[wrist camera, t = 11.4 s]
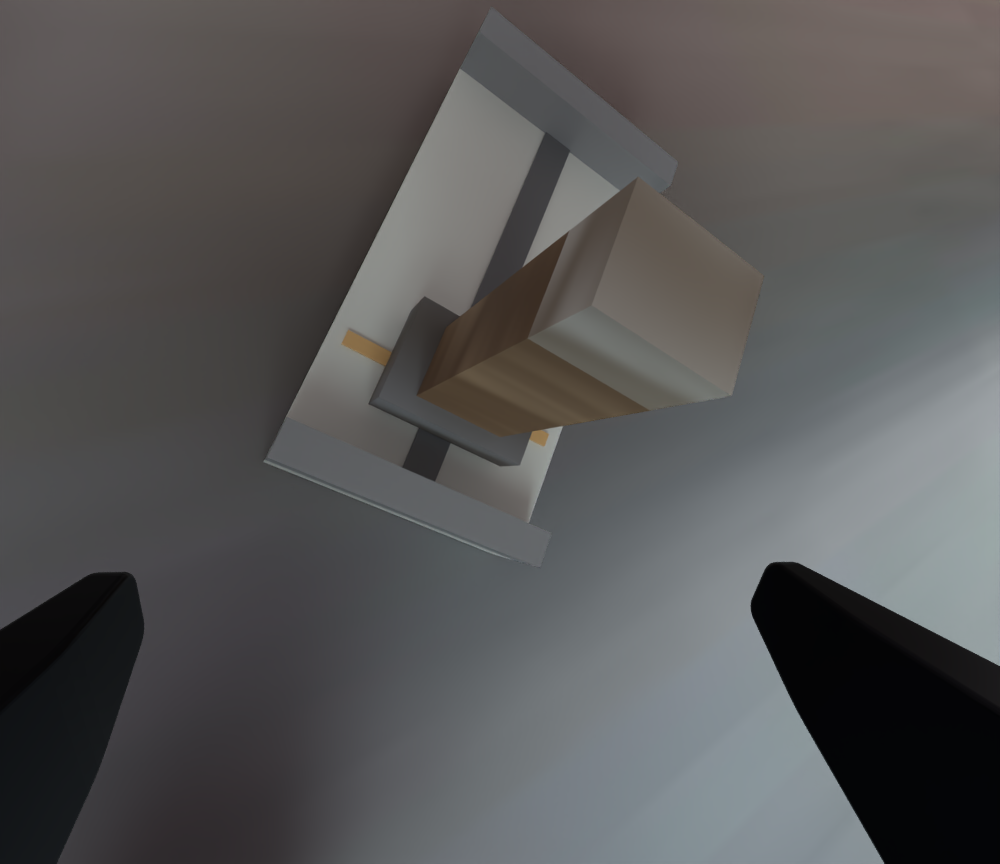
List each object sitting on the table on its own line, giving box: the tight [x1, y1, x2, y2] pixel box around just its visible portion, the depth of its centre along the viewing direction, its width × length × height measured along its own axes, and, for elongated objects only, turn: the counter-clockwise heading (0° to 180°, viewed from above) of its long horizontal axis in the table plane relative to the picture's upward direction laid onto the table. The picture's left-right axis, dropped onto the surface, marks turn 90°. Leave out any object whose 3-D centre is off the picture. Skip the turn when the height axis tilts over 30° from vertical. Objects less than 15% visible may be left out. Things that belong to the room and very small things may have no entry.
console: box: [264, 7, 678, 568], centre depth 20 cm, size 17×9×4 cm, turn 156°
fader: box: [368, 177, 764, 467], centre depth 13 cm, size 4×5×11 cm
